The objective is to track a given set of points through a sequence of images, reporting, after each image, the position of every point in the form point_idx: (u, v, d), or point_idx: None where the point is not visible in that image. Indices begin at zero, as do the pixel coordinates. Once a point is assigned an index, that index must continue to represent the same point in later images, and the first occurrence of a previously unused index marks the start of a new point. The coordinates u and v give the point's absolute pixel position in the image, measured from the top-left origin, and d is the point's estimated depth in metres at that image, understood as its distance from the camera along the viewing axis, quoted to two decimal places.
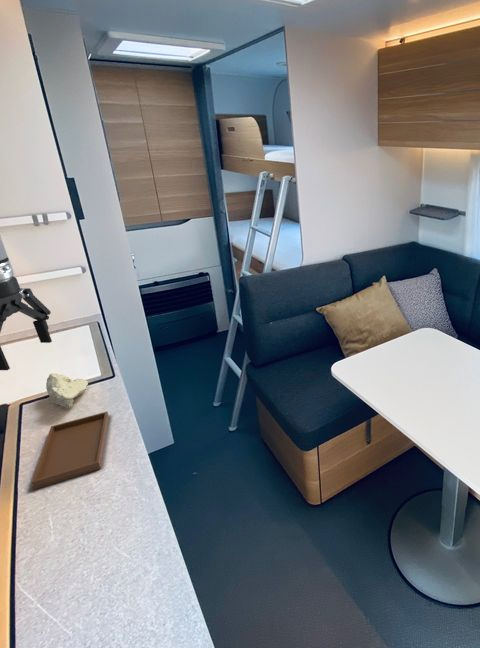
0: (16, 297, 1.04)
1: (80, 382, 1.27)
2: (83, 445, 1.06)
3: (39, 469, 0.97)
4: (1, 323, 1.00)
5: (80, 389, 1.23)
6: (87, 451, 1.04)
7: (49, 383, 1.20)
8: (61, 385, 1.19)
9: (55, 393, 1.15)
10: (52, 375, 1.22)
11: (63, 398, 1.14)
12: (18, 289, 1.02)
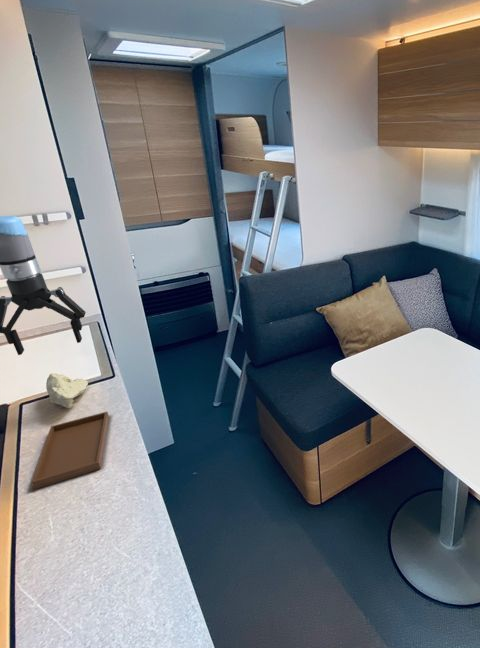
0: (40, 295, 1.09)
1: (80, 382, 1.27)
2: (83, 445, 1.06)
3: (39, 469, 0.97)
4: (17, 315, 1.08)
5: (80, 389, 1.23)
6: (87, 451, 1.04)
7: (49, 383, 1.20)
8: (61, 385, 1.19)
9: (55, 393, 1.15)
10: (52, 375, 1.22)
11: (63, 398, 1.14)
12: (30, 290, 1.06)
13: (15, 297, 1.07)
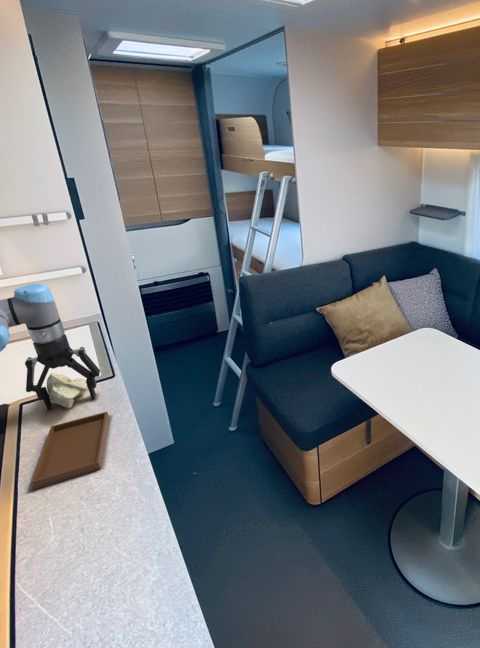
0: (64, 354, 1.17)
1: (80, 382, 1.27)
2: (83, 445, 1.06)
3: (39, 469, 0.97)
4: (45, 373, 1.16)
5: (80, 389, 1.23)
6: (87, 451, 1.04)
7: (49, 383, 1.20)
8: (61, 385, 1.19)
9: (55, 393, 1.15)
10: (52, 375, 1.22)
11: (63, 398, 1.14)
12: (55, 351, 1.14)
13: (40, 357, 1.15)
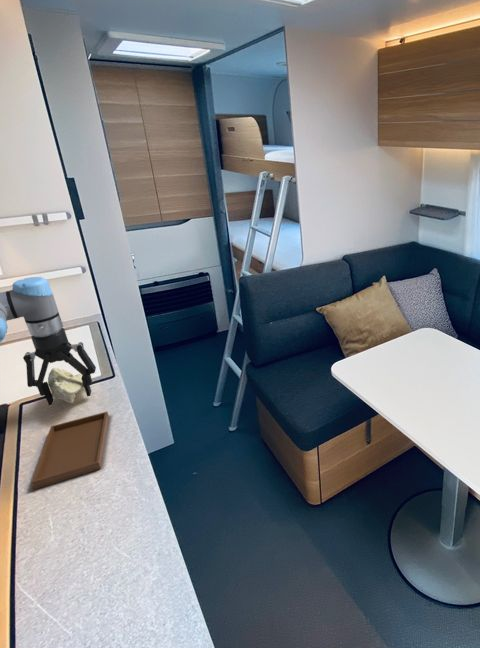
0: (62, 349, 1.16)
1: None
2: (83, 445, 1.06)
3: (39, 469, 0.97)
4: (45, 368, 1.16)
5: (82, 384, 1.23)
6: (87, 451, 1.04)
7: (51, 378, 1.20)
8: (63, 380, 1.19)
9: (57, 387, 1.15)
10: (54, 370, 1.21)
11: (66, 392, 1.14)
12: (53, 345, 1.13)
13: (39, 351, 1.14)
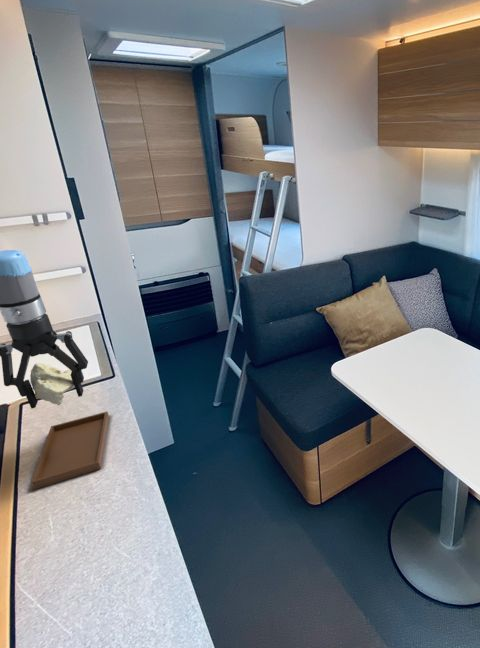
0: (46, 339, 0.95)
1: None
2: (83, 445, 1.06)
3: (39, 469, 0.97)
4: (25, 363, 0.95)
5: (72, 382, 1.02)
6: (87, 451, 1.04)
7: (34, 375, 0.99)
8: (48, 377, 0.98)
9: (41, 386, 0.94)
10: (37, 365, 1.00)
11: (51, 392, 0.93)
12: (34, 335, 0.92)
13: (16, 342, 0.93)
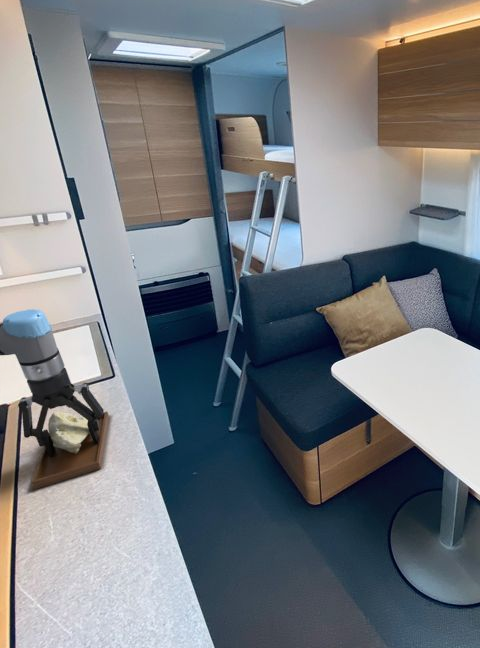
0: (64, 392, 0.99)
1: (87, 421, 1.09)
2: (83, 445, 1.06)
3: (39, 469, 0.97)
4: (44, 415, 0.98)
5: (88, 430, 1.05)
6: (87, 451, 1.04)
7: (52, 424, 1.03)
8: (66, 427, 1.01)
9: (59, 438, 0.97)
10: (55, 415, 1.04)
11: (69, 444, 0.97)
12: (53, 390, 0.95)
13: (36, 396, 0.96)
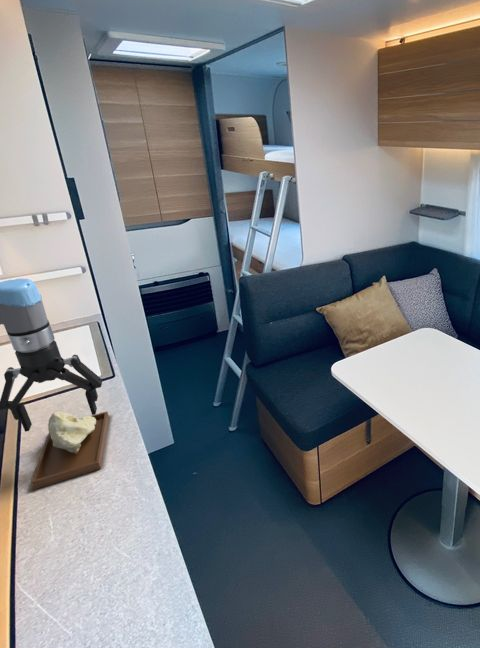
0: (53, 366, 0.96)
1: (87, 421, 1.09)
2: (83, 445, 1.06)
3: (39, 469, 0.97)
4: (26, 388, 0.95)
5: (88, 430, 1.05)
6: (87, 451, 1.04)
7: (52, 424, 1.03)
8: (66, 427, 1.01)
9: (59, 438, 0.97)
10: (55, 415, 1.04)
11: (69, 445, 0.97)
12: (42, 363, 0.92)
13: (24, 369, 0.94)
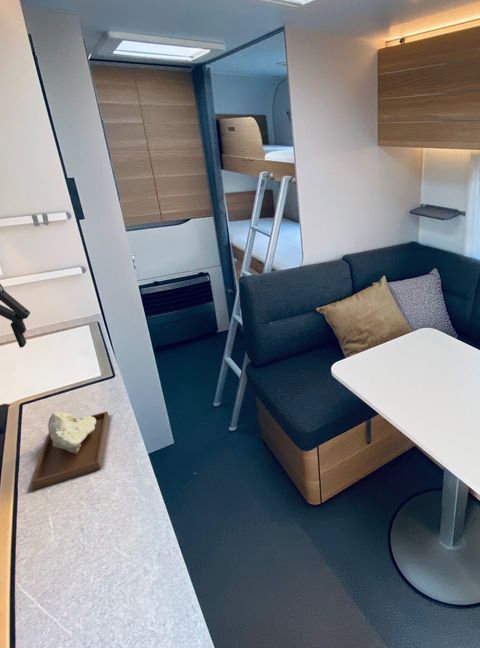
0: None
1: (87, 421, 1.09)
2: (83, 445, 1.06)
3: (39, 469, 0.97)
4: None
5: (88, 430, 1.05)
6: (87, 451, 1.04)
7: (52, 424, 1.03)
8: (66, 427, 1.01)
9: (59, 438, 0.97)
10: (55, 415, 1.04)
11: (69, 445, 0.97)
12: None
13: None
